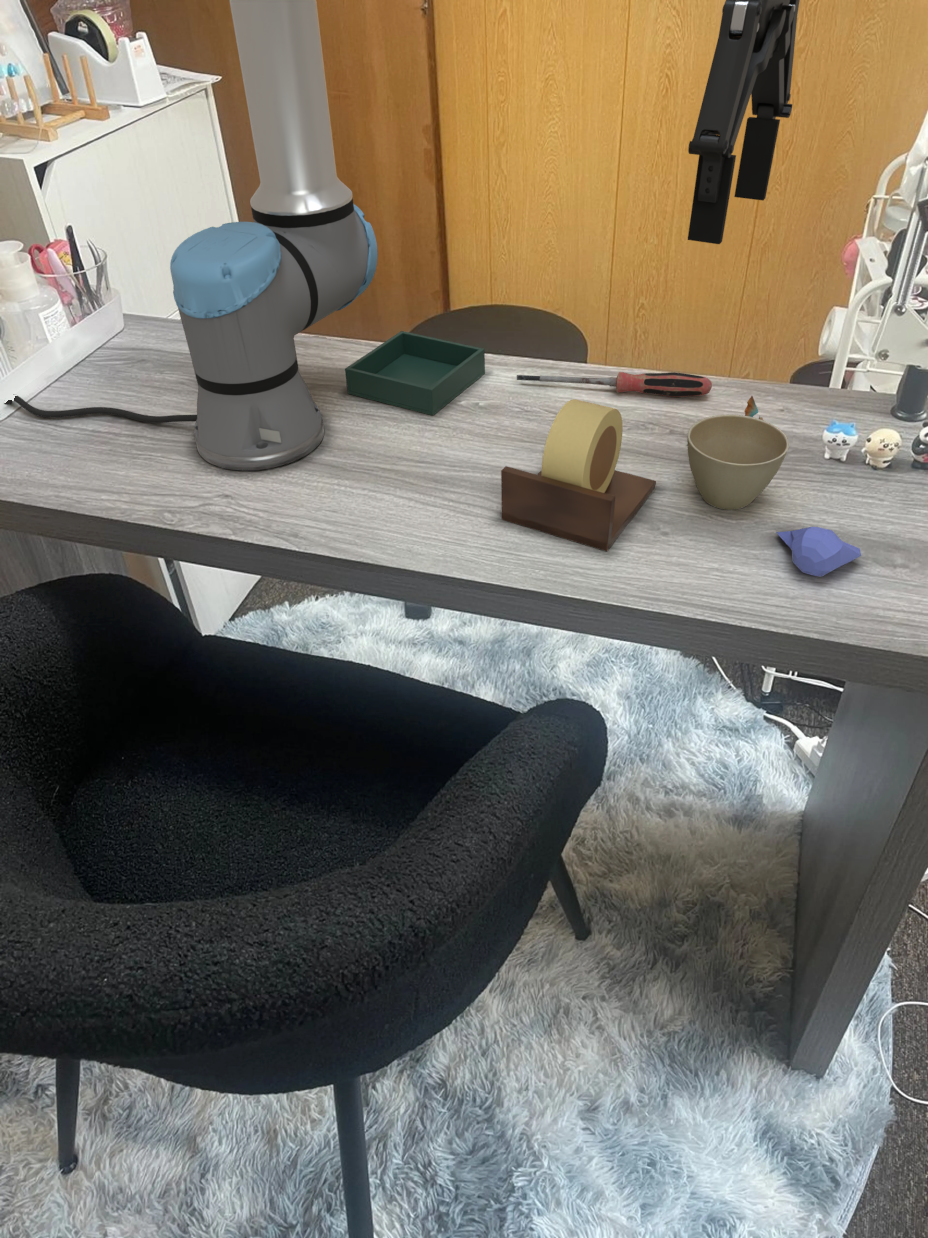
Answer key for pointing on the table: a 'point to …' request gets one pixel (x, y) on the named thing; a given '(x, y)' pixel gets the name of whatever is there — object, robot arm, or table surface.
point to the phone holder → (573, 505)
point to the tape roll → (583, 445)
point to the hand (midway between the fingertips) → (728, 218)
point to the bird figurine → (818, 550)
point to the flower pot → (734, 458)
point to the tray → (415, 372)
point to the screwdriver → (642, 383)
